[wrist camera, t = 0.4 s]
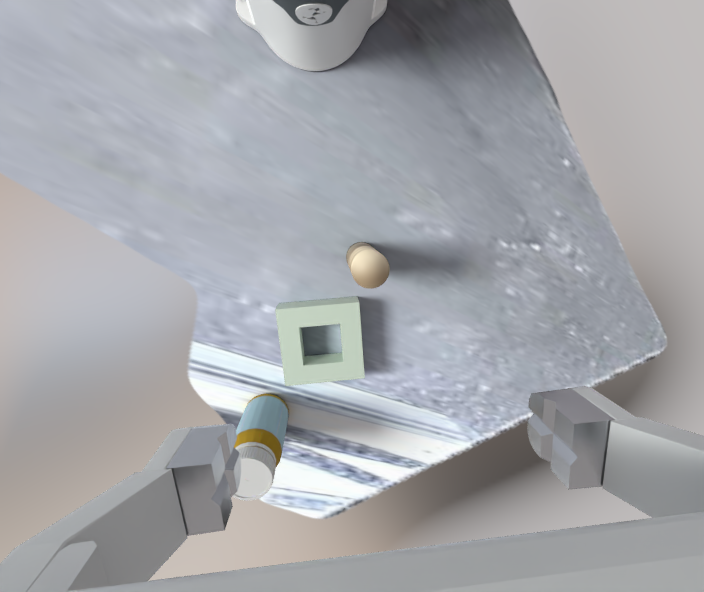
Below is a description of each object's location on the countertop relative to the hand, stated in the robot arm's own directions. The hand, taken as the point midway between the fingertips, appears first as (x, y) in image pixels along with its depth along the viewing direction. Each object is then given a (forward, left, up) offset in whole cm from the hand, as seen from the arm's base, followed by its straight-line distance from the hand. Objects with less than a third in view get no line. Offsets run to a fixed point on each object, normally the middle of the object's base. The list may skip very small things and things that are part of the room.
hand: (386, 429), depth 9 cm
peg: (+1, +3, -43) cm, 43 cm away
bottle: (+25, -14, -44) cm, 52 cm away
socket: (+13, -4, -43) cm, 45 cm away
